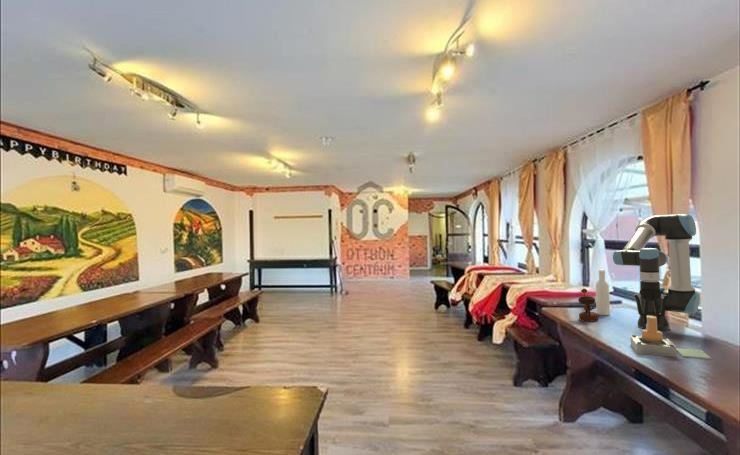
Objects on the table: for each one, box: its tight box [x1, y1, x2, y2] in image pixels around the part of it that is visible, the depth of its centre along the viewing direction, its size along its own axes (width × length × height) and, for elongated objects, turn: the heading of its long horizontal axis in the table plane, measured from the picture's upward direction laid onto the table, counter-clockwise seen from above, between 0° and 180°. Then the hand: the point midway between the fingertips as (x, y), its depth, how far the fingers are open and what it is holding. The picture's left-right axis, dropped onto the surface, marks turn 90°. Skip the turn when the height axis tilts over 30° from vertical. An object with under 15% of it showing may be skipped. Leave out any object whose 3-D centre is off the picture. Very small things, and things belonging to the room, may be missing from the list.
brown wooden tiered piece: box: [578, 287, 599, 322], centre depth 248 cm, size 15×11×20 cm
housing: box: [629, 334, 678, 358], centre depth 185 cm, size 15×15×5 cm
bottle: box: [595, 268, 611, 316], centre depth 262 cm, size 8×8×30 cm
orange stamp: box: [641, 315, 663, 342], centre depth 185 cm, size 8×8×10 cm
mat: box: [676, 347, 712, 360], centre depth 178 cm, size 12×10×1 cm
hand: (651, 330), depth 185 cm, fingers closed on orange stamp, 2 cm apart
